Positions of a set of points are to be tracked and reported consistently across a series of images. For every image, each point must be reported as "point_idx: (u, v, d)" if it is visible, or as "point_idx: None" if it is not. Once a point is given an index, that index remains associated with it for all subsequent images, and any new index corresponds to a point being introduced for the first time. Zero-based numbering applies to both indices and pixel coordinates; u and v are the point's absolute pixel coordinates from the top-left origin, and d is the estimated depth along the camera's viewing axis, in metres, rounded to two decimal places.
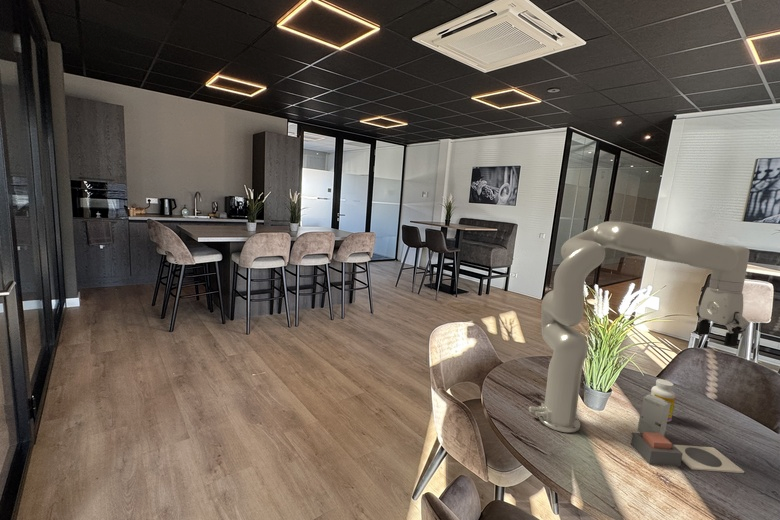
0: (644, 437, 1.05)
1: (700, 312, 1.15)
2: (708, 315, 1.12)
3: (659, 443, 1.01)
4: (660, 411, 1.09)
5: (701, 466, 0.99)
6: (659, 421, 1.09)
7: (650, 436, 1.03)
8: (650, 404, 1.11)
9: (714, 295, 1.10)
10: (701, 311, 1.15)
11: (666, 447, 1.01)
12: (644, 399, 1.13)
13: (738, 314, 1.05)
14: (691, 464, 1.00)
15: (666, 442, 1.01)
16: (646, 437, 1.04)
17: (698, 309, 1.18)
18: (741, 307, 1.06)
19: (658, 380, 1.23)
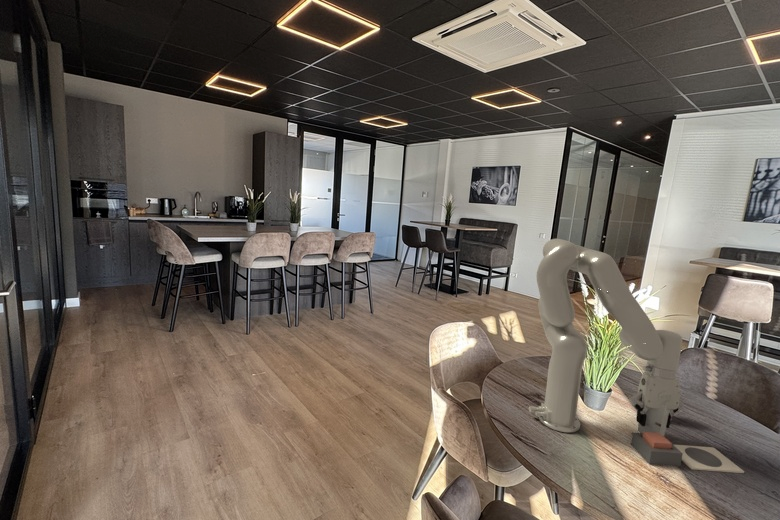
0: (644, 437, 1.05)
1: (648, 403, 1.09)
2: (659, 405, 1.09)
3: (659, 443, 1.01)
4: (660, 411, 1.09)
5: (701, 466, 0.99)
6: (659, 421, 1.09)
7: (650, 436, 1.03)
8: None
9: (666, 384, 1.08)
10: (650, 402, 1.09)
11: (666, 447, 1.01)
12: None
13: None
14: (691, 464, 1.00)
15: (666, 442, 1.01)
16: (646, 437, 1.04)
17: (635, 402, 1.11)
18: None
19: None
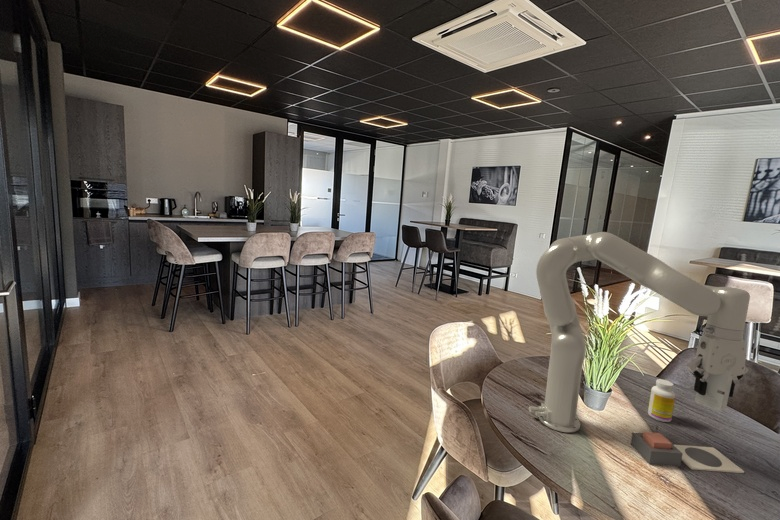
0: (644, 437, 1.05)
1: (710, 369, 0.97)
2: (723, 370, 0.97)
3: (659, 443, 1.01)
4: (724, 377, 0.97)
5: (701, 466, 0.99)
6: (722, 388, 0.97)
7: (650, 436, 1.03)
8: None
9: (730, 347, 0.96)
10: (712, 368, 0.97)
11: (666, 447, 1.01)
12: None
13: None
14: (691, 464, 1.00)
15: (666, 442, 1.01)
16: (646, 437, 1.04)
17: (694, 368, 0.99)
18: None
19: (658, 380, 1.23)
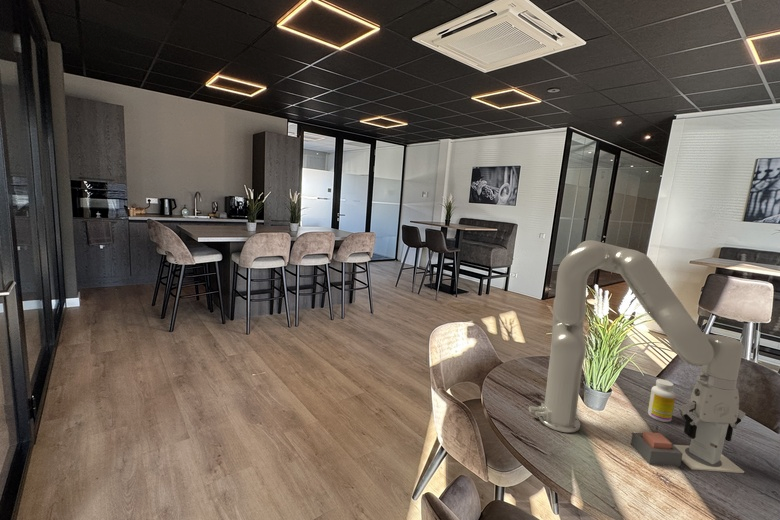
0: (644, 437, 1.05)
1: (704, 417, 0.99)
2: (716, 418, 0.98)
3: (659, 443, 1.01)
4: (717, 431, 0.99)
5: (701, 466, 0.99)
6: (715, 442, 0.99)
7: (650, 436, 1.03)
8: (705, 423, 1.01)
9: (724, 395, 0.97)
10: (705, 415, 0.98)
11: (666, 447, 1.01)
12: None
13: None
14: (691, 464, 1.00)
15: (666, 442, 1.01)
16: (646, 437, 1.04)
17: (685, 411, 1.01)
18: None
19: (658, 380, 1.23)
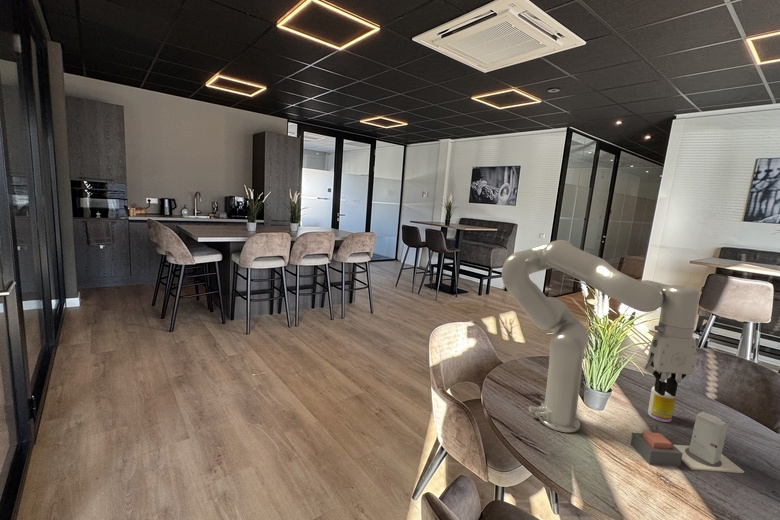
0: (644, 437, 1.05)
1: (661, 367, 0.97)
2: (673, 368, 0.97)
3: (659, 443, 1.01)
4: (717, 431, 0.99)
5: (701, 466, 0.99)
6: (715, 442, 0.99)
7: (650, 436, 1.03)
8: (705, 422, 1.01)
9: (680, 345, 0.96)
10: (662, 366, 0.97)
11: (666, 447, 1.01)
12: (697, 417, 1.03)
13: None
14: (691, 464, 1.00)
15: (666, 442, 1.01)
16: (646, 437, 1.04)
17: (651, 370, 1.00)
18: None
19: None
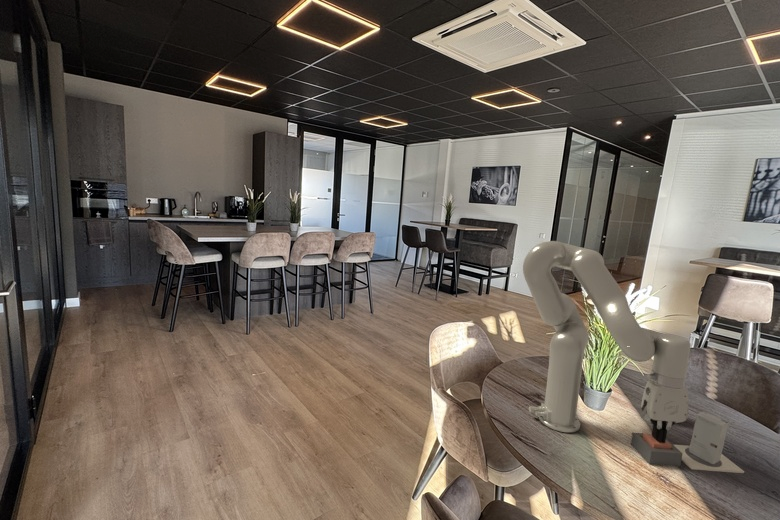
0: (644, 438, 1.05)
1: (654, 415, 0.99)
2: (666, 416, 0.99)
3: (658, 445, 1.01)
4: (717, 431, 0.99)
5: (701, 466, 0.99)
6: (715, 442, 0.99)
7: (650, 437, 1.04)
8: (705, 422, 1.01)
9: (673, 394, 0.98)
10: (655, 414, 0.99)
11: None
12: (697, 417, 1.03)
13: None
14: (691, 464, 1.00)
15: (666, 443, 1.01)
16: (646, 438, 1.04)
17: (648, 418, 1.01)
18: None
19: None
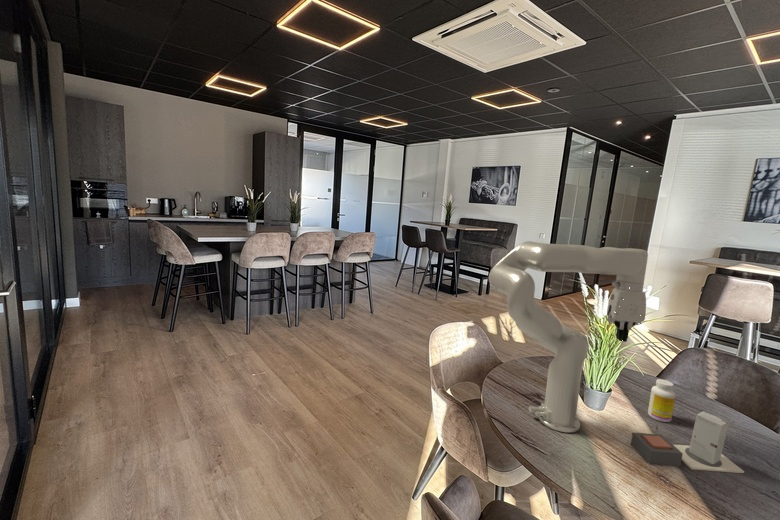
0: None
1: (616, 316, 1.16)
2: (627, 317, 1.16)
3: (658, 447, 1.01)
4: (717, 431, 0.99)
5: (701, 466, 0.99)
6: (715, 442, 0.99)
7: (650, 439, 1.04)
8: (705, 423, 1.01)
9: (633, 297, 1.15)
10: (618, 315, 1.16)
11: None
12: (697, 417, 1.03)
13: None
14: (691, 464, 1.00)
15: (666, 445, 1.01)
16: (645, 440, 1.04)
17: (612, 320, 1.18)
18: None
19: (658, 380, 1.23)
